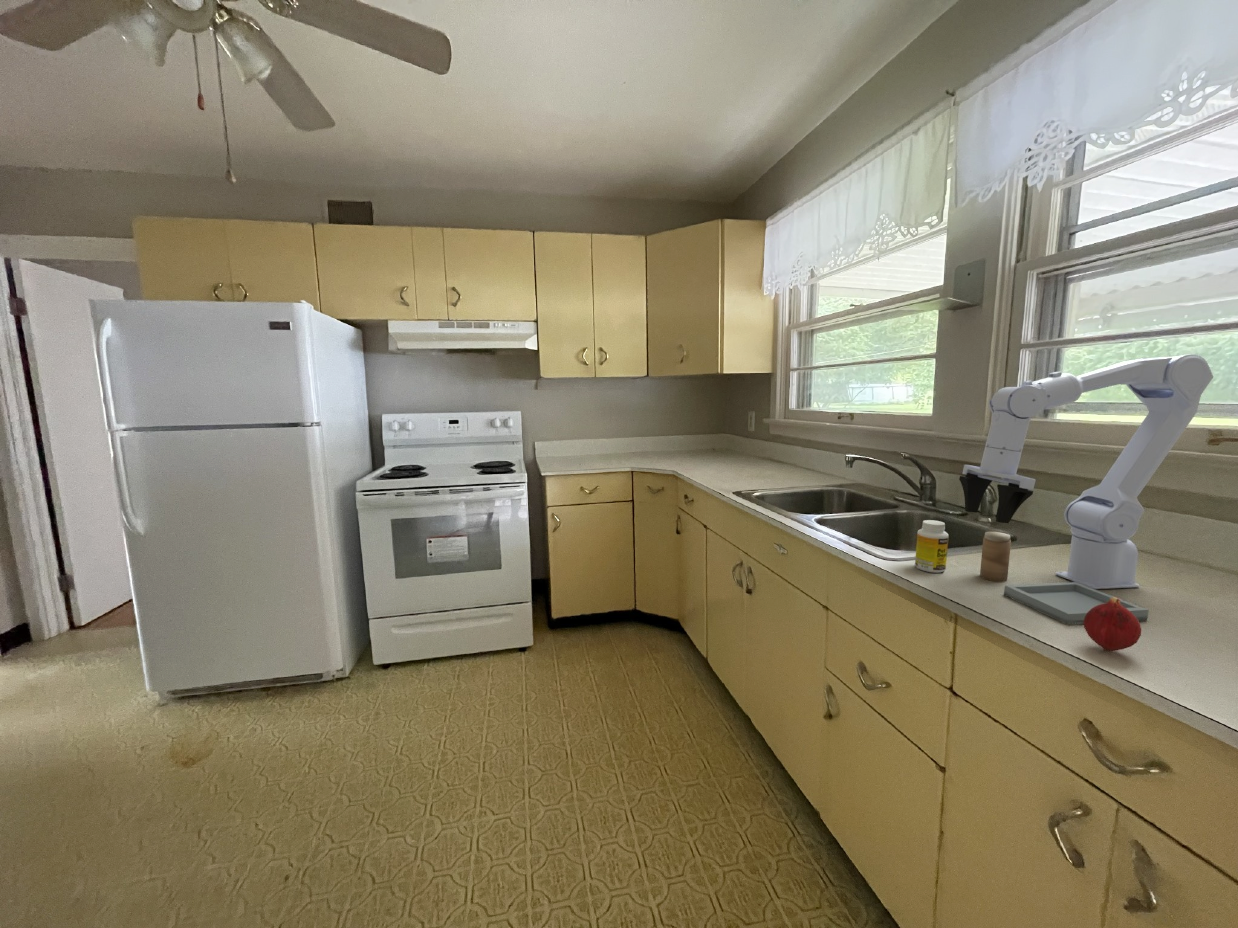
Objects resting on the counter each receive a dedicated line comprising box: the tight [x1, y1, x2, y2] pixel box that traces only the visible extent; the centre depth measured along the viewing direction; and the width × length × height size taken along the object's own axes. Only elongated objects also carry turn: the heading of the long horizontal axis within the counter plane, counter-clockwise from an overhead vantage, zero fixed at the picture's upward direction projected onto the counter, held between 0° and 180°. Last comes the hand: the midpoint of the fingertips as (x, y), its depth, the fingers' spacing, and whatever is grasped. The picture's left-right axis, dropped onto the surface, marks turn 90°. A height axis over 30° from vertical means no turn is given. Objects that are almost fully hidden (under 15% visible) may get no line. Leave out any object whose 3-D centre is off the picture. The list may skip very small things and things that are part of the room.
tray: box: [1003, 581, 1150, 625], centre depth 85 cm, size 14×12×2 cm
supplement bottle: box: [914, 519, 950, 574], centre depth 104 cm, size 6×6×10 cm
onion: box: [1083, 596, 1142, 652], centre depth 70 cm, size 6×6×8 cm
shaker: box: [979, 531, 1012, 583], centre depth 98 cm, size 4×4×9 cm
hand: (985, 516), depth 97 cm, fingers open, 7 cm apart
